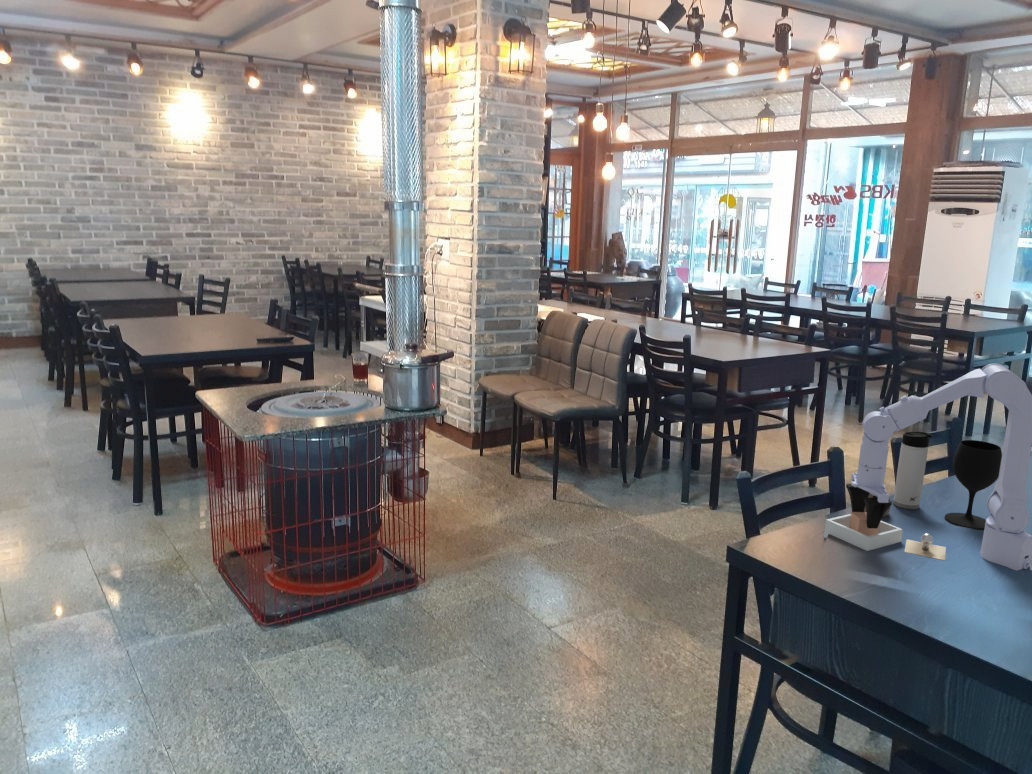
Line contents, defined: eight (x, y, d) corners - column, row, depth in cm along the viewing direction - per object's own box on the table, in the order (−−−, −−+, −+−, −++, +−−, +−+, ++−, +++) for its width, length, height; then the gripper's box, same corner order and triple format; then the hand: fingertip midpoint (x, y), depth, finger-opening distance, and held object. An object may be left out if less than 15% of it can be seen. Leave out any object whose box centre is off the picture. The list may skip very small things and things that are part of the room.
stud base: (944, 553, 179) (948, 531, 178) (944, 566, 173) (947, 544, 171) (905, 545, 183) (908, 524, 182) (903, 557, 176) (906, 536, 175)
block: (867, 536, 186) (870, 512, 185) (875, 544, 181) (879, 519, 180) (848, 536, 186) (851, 511, 185) (856, 543, 181) (859, 519, 180)
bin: (900, 547, 182) (902, 529, 181) (866, 557, 176) (869, 538, 175) (856, 529, 192) (859, 511, 191) (823, 537, 186) (826, 519, 185)
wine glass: (949, 510, 206) (961, 436, 201) (995, 521, 199) (1008, 445, 195) (939, 522, 198) (952, 445, 193) (987, 533, 192) (1001, 454, 187)
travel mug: (917, 511, 204) (929, 437, 200) (890, 505, 208) (900, 432, 204) (922, 505, 209) (934, 432, 205) (895, 499, 213) (906, 427, 208)
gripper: (841, 454, 187) (834, 509, 190) (869, 474, 172) (861, 533, 175) (870, 455, 187) (863, 509, 190) (901, 475, 173) (892, 534, 176)
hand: (864, 521), depth 183 cm, fingers open, 7 cm apart
